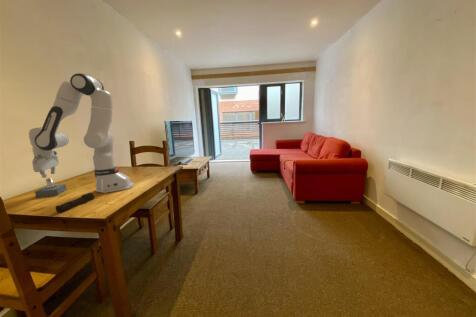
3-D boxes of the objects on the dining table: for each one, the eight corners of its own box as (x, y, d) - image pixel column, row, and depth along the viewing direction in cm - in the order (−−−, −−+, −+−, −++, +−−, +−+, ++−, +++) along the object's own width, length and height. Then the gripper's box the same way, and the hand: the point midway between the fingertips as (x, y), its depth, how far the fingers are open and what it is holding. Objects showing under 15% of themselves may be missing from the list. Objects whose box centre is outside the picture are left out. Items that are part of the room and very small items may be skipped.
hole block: (66, 189, 138) (65, 184, 137) (58, 195, 128) (56, 189, 127) (46, 191, 135) (45, 186, 134) (36, 197, 125) (34, 191, 124)
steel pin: (56, 192, 133) (53, 177, 131) (53, 194, 130) (50, 179, 128) (50, 193, 132) (47, 178, 130) (48, 194, 130) (44, 179, 128)
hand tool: (61, 213, 101) (59, 205, 100) (55, 212, 103) (54, 204, 102) (97, 199, 119) (96, 191, 118) (92, 198, 120) (91, 191, 119)
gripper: (39, 156, 118) (45, 179, 120) (58, 151, 137) (63, 171, 139) (26, 157, 116) (32, 180, 118) (46, 152, 135) (51, 172, 138)
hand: (49, 175), depth 129 cm, fingers open, 8 cm apart
